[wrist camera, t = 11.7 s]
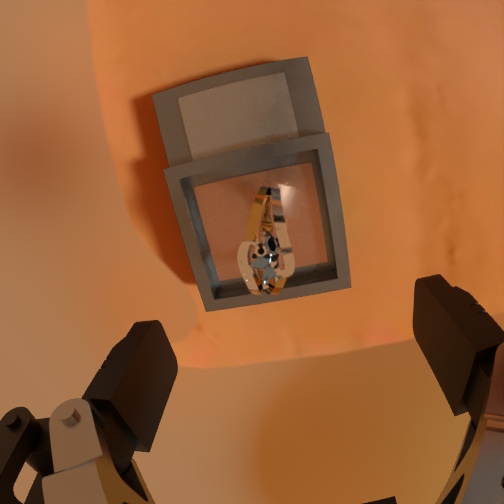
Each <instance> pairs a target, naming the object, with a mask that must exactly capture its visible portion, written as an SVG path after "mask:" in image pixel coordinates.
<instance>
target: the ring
mask: <svg viewBox="0 0 504 504" xmlns="http://www.w3.org/2000/svg"><path fill="white" fill-rule="evenodd" d="M263 208H264V214H263V219H262V224H261V237H260V240H259V228H260V221H261V216H262V212H263ZM273 229H274V233H275V237H276V238H275V237H274V236H273V235H272V231H273ZM253 247H255V250H254V251H253V254H252V258H253V260H252V259H251V258H250V251H251V249H252V248H253ZM278 248H279V251H280V254H281V258H282V268H280V265H279V259H278V257H279V252H278ZM270 253H272V254H270ZM237 260H238V266H239V269H240V272H241V274H242V276H243V279H244V281H245V283H246V285H247V287H248V289H249V291H250V292H251V293H252V294H257V295H262V292H263V289H265V292H266V293H267V294H271V295H277V294H279V293H280V292H281V290H282V288H283V286H284V284H285V281H286V278H288V277H290V276H291V275H292V274H293V272H294V269H295V260H294V255H293V251H292V247H291V244H290V240H289V236H288V233H287V229H286V224H285V220H284V215H283V209H282V203H281V196H280V189H279V188H277V187H270V186H261V188H260V189H259V191H258V193H257V195H256V198H255V200H254V203H253V206H252V210H251V213H250V217H249V221H248V225H247V230H246V234H245V240H244V241H243V242H242V243H241V245H240V246H239V249H238V254H237ZM254 268H255V269H257V273H256V272H255V270H254Z"/></svg>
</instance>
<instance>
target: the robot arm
mask: <svg viewBox="0 0 504 504" xmlns="http://www.w3.org/2000/svg"><path fill="white" fill-rule="evenodd" d="M413 331H414V335H415V338H416V341H417V343H418V344H419V346H420V348H421V350H422V352H423V353H424V356H425V357H426V359H427V361H428V363H429V365H430V367H431V369H432V371H433V373H434V375H435V377H436V379H437V381H438V382H439V384H440V387H441V389H442V391H443V392H444V394H445V397H446V399H447V401H448V403H449V405H450V407H451V409H452V412H453V413H454V416H457V415H460V414H463V413H465V412H469V414H470V416H471V419H470V421H469V424H468V427H467V430H466V433H465V436H464V439H463V442H462V445H461V448H460V451H459V454H458V457H457V459H456V462H455V464H454V467H453V470H452V472H451V474H450V477H449V479H448V481H447V483H446V485H445V487H444V489H443V491H442V492H441V494H440V496H439V498H438V500H437V502H436V503H435V504H504V331H503V330H502V329H501V327H500V326H499V325H498V324H497V323H496V322H495V321H494V319H493V318H492V317H491V316H490V315H489V314H488V313H487V312H485V309H484V308H483V307H482V306H481V305H480V304H479V305H478V302H477V301H476V300H475V299H474V297H473V296H472V295H471V294H470V293H468V292H466V291H464V290H463V289H461V288H459V287H457V286H455V287H452V286H451V285H450V284H449V283H448V282H447V281H446V280H445V279H444V278H443V277H442V276H441V275H440V274H436V275H432V276H428V277H423V278H419V279H417V280H416V282H415V290H414V310H413ZM106 359H107V360H105V361H104V362H103V364H102V366H101V369H99V370H98V372H97V373H96V375H95V377H94V378H93V380H92V382H91V383H90V385H89V386H88V388H87V390H86V391H85V393H84V395H83V396H82V398H81V399H79V398H76V399H70V400H68V401H65V402H64V403H62V404H60V405H59V406H58V407H57V408H56V409H55V410H54V411H53V413H52V415H51V417H50V418H44V419H35V417H34V416H33V415H32V414H31V412H30V411H29V410H28V409H27V408H25V407H17V408H14V409H12V410H10V411H9V412H7V413H6V414H5V416H4V417H3V418H2V419H1V421H0V504H22V503H21V502H20V501H19V500H17V498H16V497H15V495H14V492H13V487H14V483H15V481H16V479H17V477H18V475H19V473H20V471H21V469H22V467H23V465H24V463H25V461H26V462H27V463H28V464H29V465H30V466H31V467H32V468H33V469H34V470H35V471H36V472H37V476H36V478H35V480H34V482H33V485H32V487H31V489H30V491H29V494H28V496H27V498H26V501H25V503H24V504H155V502H154V500H153V498H152V496H151V494H150V492H149V490H148V488H147V486H146V484H145V481H144V479H143V477H142V475H141V473H140V471H139V468H138V466H137V464H136V462H135V460H134V459H133V458H132V456H133V454H134V451H141V452H150V449H151V446H152V443H153V441H154V438H155V435H156V432H157V429H158V426H159V423H160V420H161V418H162V415H163V412H164V409H165V406H166V403H167V401H168V398H169V395H170V392H171V390H172V387H173V384H174V381H175V379H176V376H177V371H178V364H177V359H176V356H175V354H174V352H173V349H172V347H171V345H170V342H169V340H168V338H167V336H166V334H165V331H164V329H163V326H162V324H161V323H160V322H159V321H158V320H153V321H152V320H151V321H141V322H136V323H134V324H133V326H132V328H131V329H130V331H129V332H128V334H127V335H126V337H125V338H123V339H122V340H121V341H120V342H119V343H118V344H116V345H115V346H114V347H113V348H112V350H111V351H110V353H109V355H108V356H107V358H106ZM364 504H397V503H396V499H395V496H394V497H390V498H386V499H381V500H377V501H373V502H368V503H364Z"/></svg>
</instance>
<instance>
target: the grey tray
mask: <svg viewBox="0 0 504 504" xmlns="http://www.w3.org/2000/svg"><path fill="white" fill-rule="evenodd" d="M152 98H153V102H154V106H155V111H156V115H157V119H158V123H159V128H160V132H161V136H162V140H163V144H164V148H165V152H166V156H167V160H168V163H169V167H168V168H165V169H163V171H164V175H165V179H166V182H167V186H168V190H169V193H170V197H171V201H172V204H173V208H174V211H175V215H176V218H177V221H178V225H179V228H180V232H181V235H182V238H183V242H184V245H185V248H186V251H187V255H188V258H189V261H190V264H191V267H192V270H193V274H194V277H195V280H196V283H197V286H198V289H199V292H200V295H201V298H202V301H203V304H204V307H205V310H206V312H209V311H216V310H223V309H229V308H236V307H243V306H249V305H256V304H262V303H268V302H274V301H280V300H286V299H292V298H297V297H303V296H309V295H314V294H320V293H325V292H330V291H336V290H341V289H346V288H351V279H350V269H349V259H348V251H347V242H346V234H345V226H344V219H343V212H342V205H341V198H340V192H339V185H338V179H337V173H336V168H335V162H334V156H333V151H332V146H331V141H330V136H329V133H325V128H324V123H323V119H322V114H321V109H320V105H319V101H318V96H317V92H316V88H315V84H314V80H313V76H312V72H311V68H310V64H309V60H308V57H301V58H294V59H288V60H282V61H276V62H271V63H266V64H261V65H256V66H251V67H247V68H242V69H238V70H234V71H229V72H225V73H221V74H218V75H214V76H210V77H207V78H203V79H199V80H196V81H193V82H189V83H186V84H183V85H180V86H177V87H173V88H170V89H167V90H164V91H162V92H159V93H156V94H153V95H152ZM261 186H270V187H277V188H279V189H280V196H281V203H282V209H283V215H284V220H285V224H286V229H287V233H288V236H289V240H290V244H291V247H292V251H293V255H294V260H295V269H294V272H293V274H292V275H291V276H290V277H288V278H286V281H285V284H284V286H283V288H282V290H281V292H280V293H279V294H277V295H271V294H267V293H266V292H265V289H263V292H262V295H257V294H252V293H251V292H250V291H249V289H248V287H247V285H246V283H245V281H244V279H243V276H242V274H241V272H240V269H239V266H238V260H237V254H238V249H239V246H240V245H241V243H242V242H243V241H244V240H245V234H246V230H247V225H248V221H249V217H250V213H251V210H252V206H253V203H254V200H255V198H256V195H257V193H258V191H259V189H260V188H261ZM263 214H264V208H263V212H262V216H261V221H260V228H259V240H260V237H261V224H262V219H263ZM272 235H273V236H274V237H275V233H274V229H273V231H272ZM275 238H276V237H275ZM254 250H255V247H253V248H252V249H251V251H250V258H251V259H252V260H253V258H252V254H253V251H254ZM278 252H279V257H278V259H279V265H280V268H282V258H281V254H280V251H279V248H278ZM270 254H272V253H270ZM254 270H255V272H256V273H257V269H255V268H254Z"/></svg>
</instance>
